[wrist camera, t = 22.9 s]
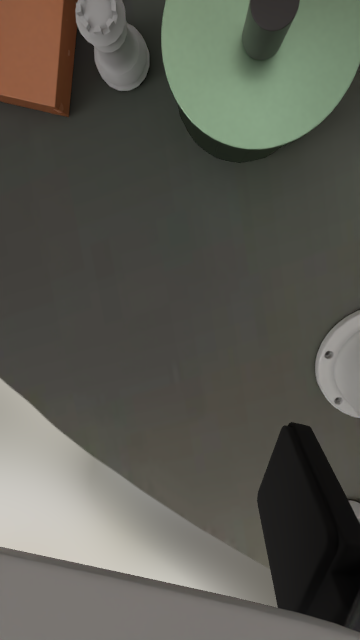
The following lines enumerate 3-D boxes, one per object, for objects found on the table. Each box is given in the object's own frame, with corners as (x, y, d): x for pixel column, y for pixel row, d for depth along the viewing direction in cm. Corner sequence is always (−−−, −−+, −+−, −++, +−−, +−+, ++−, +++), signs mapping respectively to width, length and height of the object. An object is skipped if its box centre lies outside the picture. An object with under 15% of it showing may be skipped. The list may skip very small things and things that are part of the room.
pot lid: (393, -57, 19) (450, -137, 15) (320, 170, 23) (349, 160, 18) (185, -106, 19) (180, -202, 14) (147, 130, 23) (134, 111, 18)
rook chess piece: (87, 54, 28) (45, -5, 20) (129, 16, 27) (102, -60, 20) (119, 104, 29) (89, 67, 21) (161, 70, 28) (146, 18, 21)
